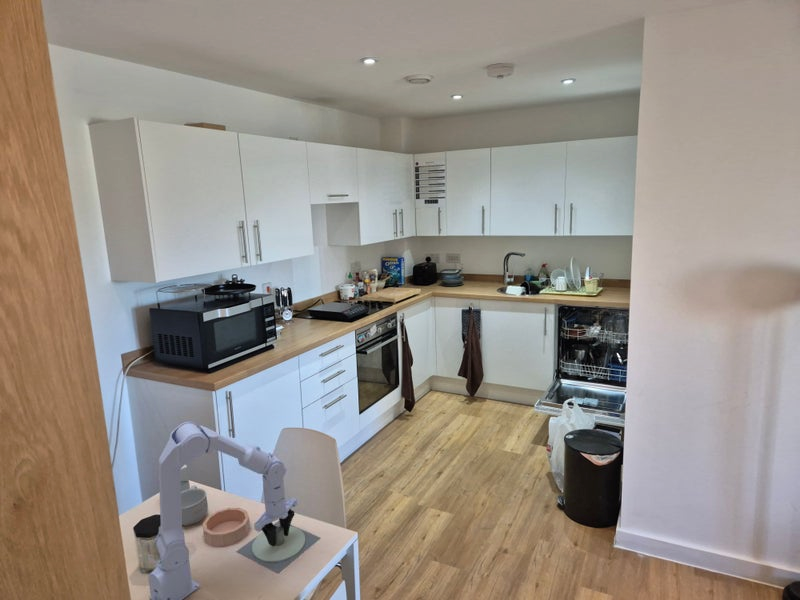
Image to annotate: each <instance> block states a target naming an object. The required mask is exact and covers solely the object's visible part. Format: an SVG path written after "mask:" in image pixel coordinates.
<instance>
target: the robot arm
mask: <svg viewBox="0 0 800 600" xmlns="http://www.w3.org/2000/svg"><path fill="white" fill-rule="evenodd" d="M200 428H201V429H200ZM214 451H216V452H217V451H218V452H220V453H223V454H225V455H227V456H229V457H232V458H236V459H237V460H238V464H239V466H241V467H243V468H245V469H247V470H250V471H252V472H253V473H256V474H258V475H262V488H263V497H264V498H263V499H264V507H265V509H264V510H265V511H264V512H263V514H261V516H260V517H259V518H258V520H257V521H255V522H254V523H253V525H254V531H257V532H258V533H260V532H264V534H265V536H266V538H267V540H268V543H269V545H271V546H275V544H276V538H275V535H276V529H277V526H274V523H273V522H276V521H279V522H280V526H281V527H283V529H284V536H288V534H289V528H290V524H291V525H292V521H293V518H294V517H295V511H294V510H292V508H293V507H297V505H298V503H297V499H296V498H294V497H290V498H289V499H287V500H286V492H285V491H286V490H285V482H284V477H285V475H286V473H287V468H286V466H285V465H284V463H283V461H281V460H280V459H279V458H278V456H276V455H274V453H271V452H266V451H263V450H262V449H261V447H260V446H259V445H257V444H255V445H246V446H242V445H240V444H239V443H236V442H235V441H233V440H231V439H229V438H227V437H226V436H224V435H222V434H220V433H217V432H216V431H215V430H212V429H210V428H208V427H205V426H204V425H197V423H196V422H193V421H185V422H183V423H181V424H179V425H178V426H177V427H175V429H173V430H172V431H171V432H170V436H169V440H168V441H167V443H166V445H165V447H164V449H163V450H162V452H161V454H160V456H159V458H158V462H157V465H158V467H159V468H158V487H159V509H160V511H159V512H160V513H159V514H160V526H158V533H157V536H156V538H155V543H154V544H155V547H156V549H157V551H158V554H159V557H158V561H157V566H156V567H155V568H154V569H153V570H152V571H151V572H150V573H149V574H148V579H147V580H148V586H149V593H150V596H149V600H184V599H185V598H186V597H188V596H189V595H191V594H192V593H193V592H195V591H196V590H198V589H199V588H200V583H198V582H196V581H195V580H193V579H192V571H191V562H190V550H189V548H188V547H187V545H186V542H185V541H186V540H185V533H184V530H183V525H182V507H181V475H180V469H181V468H182V467H183V466H184V465H186V466H187V464H189V463H191V462H192V461H194V460H196V459H198V458H200V457H202V456H203V454H205V453H206V454H207V455H208V454H210V453H213V452H214Z"/></svg>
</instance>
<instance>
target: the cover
mask: <svg viewBox="0 0 800 600" xmlns="http://www.w3.org/2000/svg"><path fill="white" fill-rule="evenodd" d="M296 527H297V526H295V527H292V526H290V528H289V534H288V536H284V529H283V527H281V526H278V527H277V529H276V535H275V538H276V544H275V546H271V545H269V543H268V540H267V538H266V536H265V534H264V532H263V531H262V532H263V533H262V532H261V533H259V534H258V535H259V536H258V535H257V536H258V537H257V536H256V537H257V538H256V537H255V538H256V539H255V540H254V542H253V545H252V552H253V555H254V556H255V557H256V558H257V559H258V560H260V561H263V562H270V563H274V562H281V561H285V560H287V559H290V558H292V557H294V556H295V555H297V554H298V553H299V552H300V551H301V550H302V549H303V547H304V545H305V535H304V533H303V532H302V531H301V530H300V529H301V528H300V529H298V528H299V527H297V528H296Z"/></svg>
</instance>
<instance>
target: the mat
mask: <svg viewBox="0 0 800 600" xmlns="http://www.w3.org/2000/svg"><path fill="white" fill-rule="evenodd" d="M273 525H274V526H277V527H278V526H280V522H279V520H277V522H276V521H275V523H273ZM290 526H292V527H296V528H298V529H300V530H301V531H302V532H303V533H304V535H305V545H304V547H303V549H302V550H301V551H300V552H299V553H298V554H297V555H295V556H294V557H292V558H290V559H287V560H285V561H281V562H274V563H270V562H263V561H260V560H258V559H257V558H256V557H255V556H254V555H253V552H252V545H253V542H254V540H255V539H256V538H257V537H258V536H259V535H260V534H258V535H257V536H255V537H254V538H253V539H252V540H250V541H249V542H247V543H246V544H245V545H243V546H241V547H240V548H239V549H237V550H235V551H236V552H235V553H238V554H239V555H242V556H243V557H244V558H247V559H249V560H251V561H252V562H255V563H256V564H259V565H260V566H263V567H265V568H266V569H268V570H270V571H272V572H274V573H276V574H280V573H281V572H282V571H283V570H284V569H286V568H287V567H288V566H289V565H290V564H291V563H293V562H294V561H295V560H297V558H299V557H300V556H301V555H303V554H304V553H305V552H307V551H308V549H310V548H311V547H312V546H313V545H315V544H316V543H317V542H318V541H319V540H321V537H320V536H318V535H316V534H313V533H311V532H308V531H306V530H304V529H302V528H300V527H297V526H295V525H294V524H293V525H292V523H291V524H290ZM261 533H263V531H261Z"/></svg>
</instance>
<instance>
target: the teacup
mask: <svg viewBox="0 0 800 600" xmlns="http://www.w3.org/2000/svg"><path fill="white" fill-rule="evenodd" d="M207 498H208V497H207V491H206V490H205V489H204V488H200V487H198V486H197V485H192V486H190V489H188V490H185V491H182V492H181V507H182V526H187V527H189V526H194V525H196V524H197V523H199V522H200V521H202V520H203V518H204V517H205V516H206V515H207V513H208V510H209V503H208V499H207Z"/></svg>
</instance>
